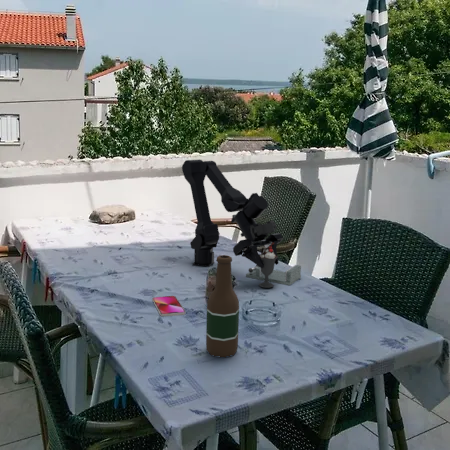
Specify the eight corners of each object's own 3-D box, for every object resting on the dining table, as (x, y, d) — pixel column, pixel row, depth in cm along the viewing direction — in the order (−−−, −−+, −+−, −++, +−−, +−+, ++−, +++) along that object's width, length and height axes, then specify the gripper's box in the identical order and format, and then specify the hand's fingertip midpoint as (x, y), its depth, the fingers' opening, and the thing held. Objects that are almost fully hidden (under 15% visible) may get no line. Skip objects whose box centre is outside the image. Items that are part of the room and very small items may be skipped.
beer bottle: (205, 344, 138) (206, 252, 132) (236, 344, 138) (239, 252, 133) (206, 358, 130) (208, 261, 125) (239, 358, 131) (242, 261, 125)
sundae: (275, 289, 178) (277, 244, 175) (254, 287, 179) (257, 243, 176) (277, 283, 184) (280, 240, 181) (257, 281, 186) (259, 238, 182)
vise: (245, 276, 192) (246, 264, 191) (258, 269, 200) (258, 257, 199) (289, 285, 184) (290, 272, 183) (300, 277, 193) (301, 265, 192)
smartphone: (175, 295, 170) (186, 312, 156) (175, 298, 171) (186, 315, 157) (151, 297, 168) (160, 314, 154) (151, 300, 168) (160, 317, 154)
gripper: (240, 216, 173) (263, 257, 168) (280, 209, 185) (303, 248, 180) (223, 235, 181) (244, 275, 175) (263, 227, 193) (284, 265, 187)
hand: (270, 265), depth 179 cm, fingers closed on sundae, 6 cm apart
